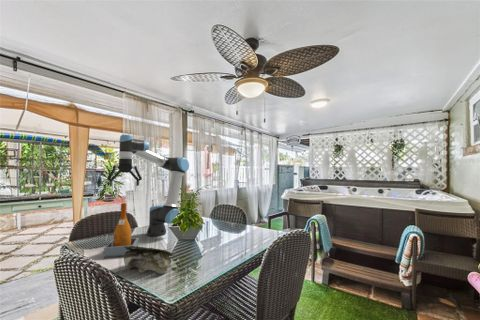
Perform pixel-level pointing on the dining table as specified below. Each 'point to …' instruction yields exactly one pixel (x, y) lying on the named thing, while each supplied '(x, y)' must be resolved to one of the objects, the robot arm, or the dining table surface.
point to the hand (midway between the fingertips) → (124, 191)
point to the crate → (118, 249)
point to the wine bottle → (122, 229)
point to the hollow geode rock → (147, 259)
